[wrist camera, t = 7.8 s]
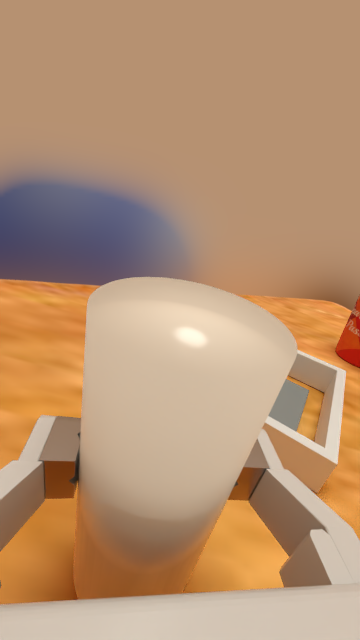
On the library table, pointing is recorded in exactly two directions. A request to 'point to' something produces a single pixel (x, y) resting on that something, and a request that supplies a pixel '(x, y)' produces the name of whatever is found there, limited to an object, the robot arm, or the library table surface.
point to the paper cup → (351, 338)
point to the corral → (282, 422)
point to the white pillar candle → (166, 426)
